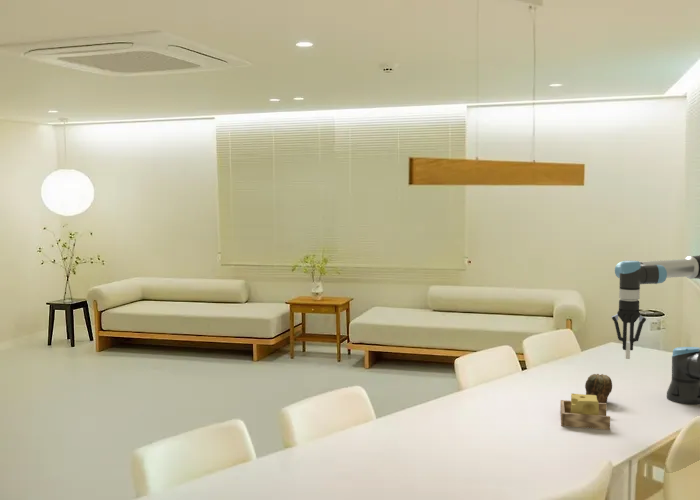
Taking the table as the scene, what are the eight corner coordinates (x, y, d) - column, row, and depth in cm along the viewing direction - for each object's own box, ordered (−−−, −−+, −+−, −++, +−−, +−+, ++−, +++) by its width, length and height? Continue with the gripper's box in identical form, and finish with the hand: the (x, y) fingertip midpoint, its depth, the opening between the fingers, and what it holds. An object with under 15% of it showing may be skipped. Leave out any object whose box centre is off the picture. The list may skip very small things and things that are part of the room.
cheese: (570, 424, 274) (570, 399, 274) (570, 416, 285) (570, 392, 284) (598, 427, 271) (598, 401, 270) (597, 418, 281) (597, 394, 281)
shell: (607, 406, 297) (608, 378, 296) (581, 402, 304) (582, 374, 303) (615, 400, 306) (615, 373, 305) (589, 396, 312) (590, 369, 312)
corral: (606, 415, 285) (606, 403, 285) (609, 429, 268) (610, 417, 267) (560, 411, 290) (560, 399, 290) (561, 425, 273) (561, 413, 272)
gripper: (645, 298, 280) (643, 357, 282) (610, 297, 284) (609, 355, 286) (648, 301, 273) (646, 361, 275) (612, 300, 277) (611, 359, 279)
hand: (627, 358), depth 280 cm, fingers closed
